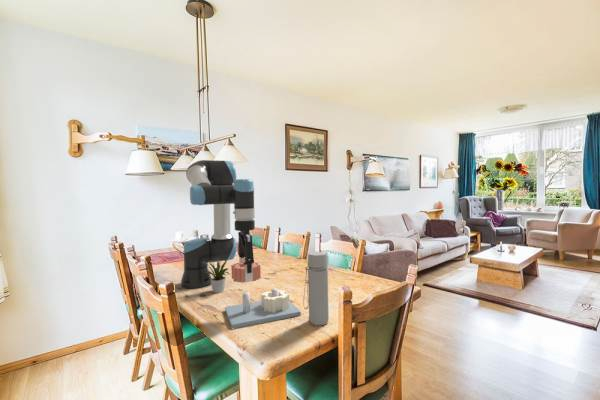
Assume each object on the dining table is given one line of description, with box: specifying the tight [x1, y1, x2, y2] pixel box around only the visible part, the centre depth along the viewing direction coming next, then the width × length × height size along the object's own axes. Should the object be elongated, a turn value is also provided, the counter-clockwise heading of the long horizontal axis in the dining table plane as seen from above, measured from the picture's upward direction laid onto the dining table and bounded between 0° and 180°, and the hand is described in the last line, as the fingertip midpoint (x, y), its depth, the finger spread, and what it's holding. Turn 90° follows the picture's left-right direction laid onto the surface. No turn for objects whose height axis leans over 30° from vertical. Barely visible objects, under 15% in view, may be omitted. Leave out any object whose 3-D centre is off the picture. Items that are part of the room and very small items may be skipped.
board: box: [224, 287, 302, 329], centre depth 112 cm, size 17×26×8 cm, turn 113°
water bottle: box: [302, 251, 330, 326], centre depth 103 cm, size 9×8×25 cm
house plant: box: [204, 258, 230, 294], centre depth 137 cm, size 14×14×16 cm
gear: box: [230, 261, 262, 283], centre depth 110 cm, size 10×10×5 cm
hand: (246, 277), depth 110 cm, fingers closed on gear, 10 cm apart
